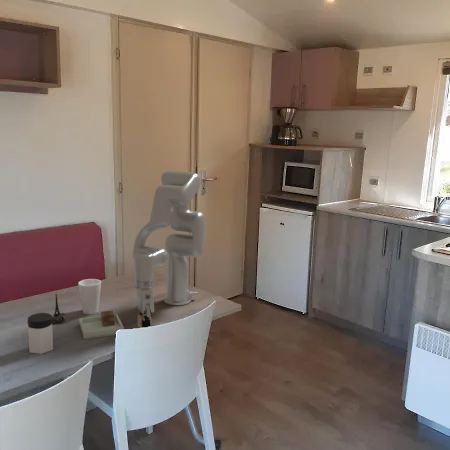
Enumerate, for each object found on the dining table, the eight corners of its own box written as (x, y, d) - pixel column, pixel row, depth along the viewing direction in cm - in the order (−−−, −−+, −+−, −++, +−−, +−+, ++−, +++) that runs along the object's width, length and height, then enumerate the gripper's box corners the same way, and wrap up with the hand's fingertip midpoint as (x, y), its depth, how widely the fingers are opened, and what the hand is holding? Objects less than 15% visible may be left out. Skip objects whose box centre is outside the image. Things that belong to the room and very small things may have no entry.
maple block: (148, 324, 195) (148, 313, 194) (151, 328, 191) (151, 317, 190) (137, 325, 193) (137, 315, 192) (140, 330, 189) (140, 319, 188)
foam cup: (95, 316, 201) (94, 287, 198) (75, 314, 202) (74, 285, 200) (105, 308, 210) (104, 280, 207) (85, 306, 211) (85, 278, 209)
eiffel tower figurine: (63, 313, 204) (62, 283, 201) (80, 319, 199) (79, 288, 196) (33, 325, 192) (31, 293, 189) (50, 331, 186) (48, 299, 184)
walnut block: (112, 320, 195) (112, 310, 194) (114, 325, 191) (114, 314, 190) (101, 322, 194) (101, 311, 193) (102, 326, 189) (102, 315, 188)
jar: (47, 340, 178) (45, 310, 175) (59, 347, 173) (57, 316, 170) (23, 348, 171) (21, 317, 168) (35, 356, 166) (33, 324, 163)
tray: (117, 319, 198) (117, 313, 198) (123, 333, 186) (123, 327, 185) (79, 324, 192) (79, 318, 192) (83, 339, 180) (83, 332, 179)
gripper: (159, 289, 182) (159, 333, 186) (148, 275, 197) (148, 317, 201) (140, 291, 179) (140, 336, 183) (130, 277, 194) (130, 319, 198)
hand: (144, 326), depth 192 cm, fingers closed on maple block, 4 cm apart
